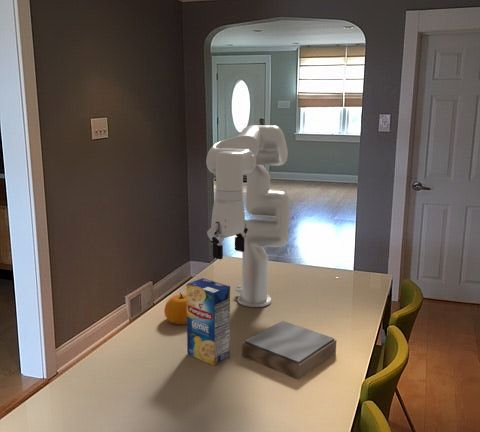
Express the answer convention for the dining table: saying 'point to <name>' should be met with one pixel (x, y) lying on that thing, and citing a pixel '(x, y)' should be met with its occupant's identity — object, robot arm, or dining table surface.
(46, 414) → the dining table surface
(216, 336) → the beverage box
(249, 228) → the robot arm
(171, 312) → the fruit
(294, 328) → the podium
